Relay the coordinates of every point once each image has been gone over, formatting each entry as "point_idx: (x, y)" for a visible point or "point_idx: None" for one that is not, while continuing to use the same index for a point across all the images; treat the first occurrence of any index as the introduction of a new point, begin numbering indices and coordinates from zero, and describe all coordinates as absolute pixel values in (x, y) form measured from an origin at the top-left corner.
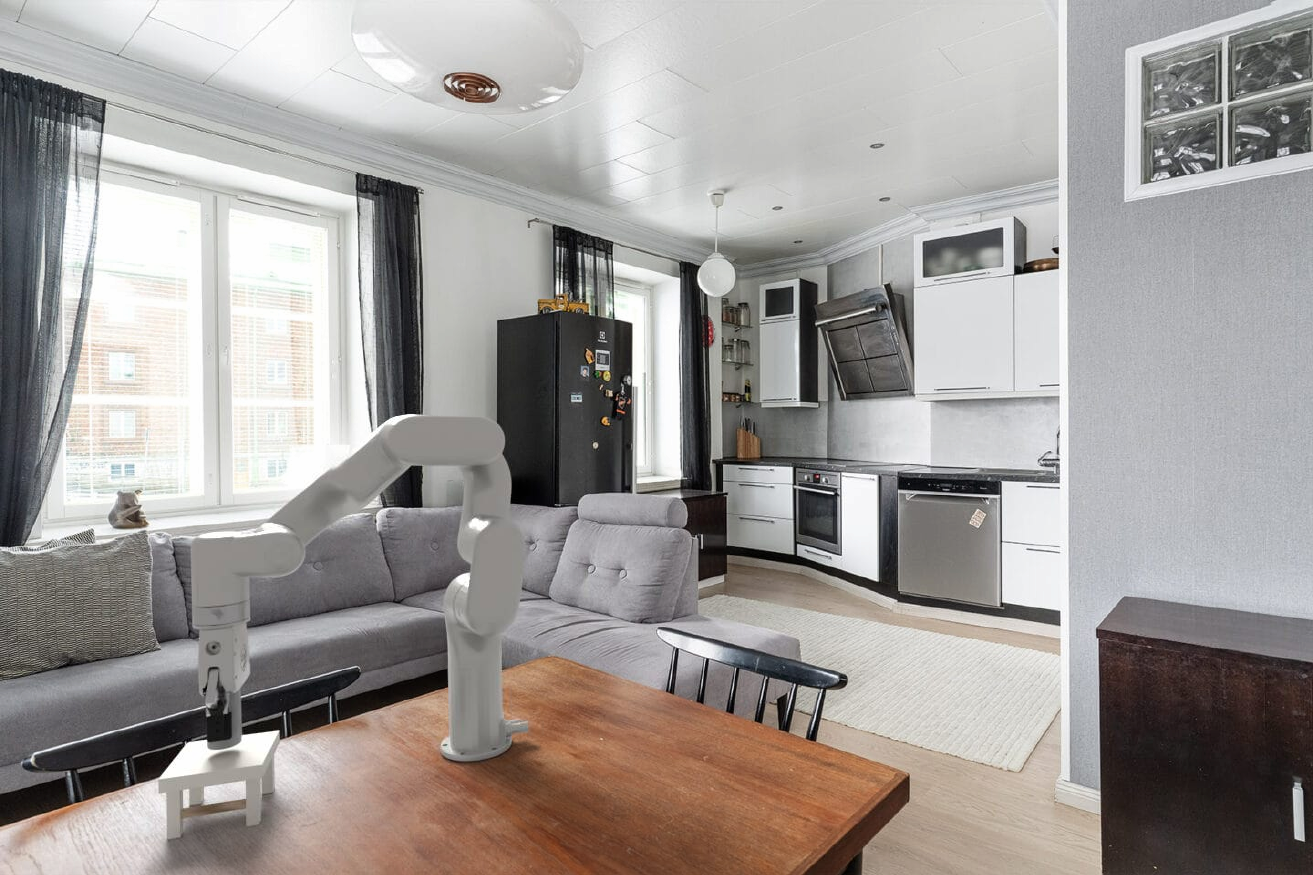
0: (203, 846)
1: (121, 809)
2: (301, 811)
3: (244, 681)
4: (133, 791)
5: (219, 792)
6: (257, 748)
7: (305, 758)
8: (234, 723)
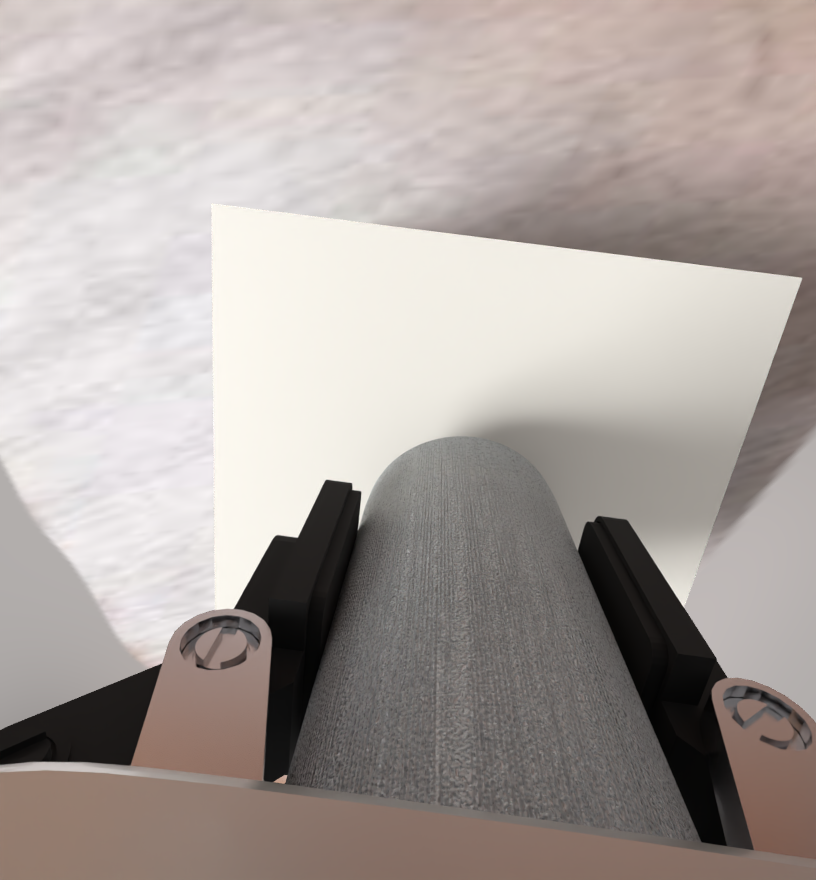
0: None
1: None
2: (613, 109)
3: (543, 845)
4: None
5: None
6: (489, 327)
7: (50, 116)
8: (569, 546)
